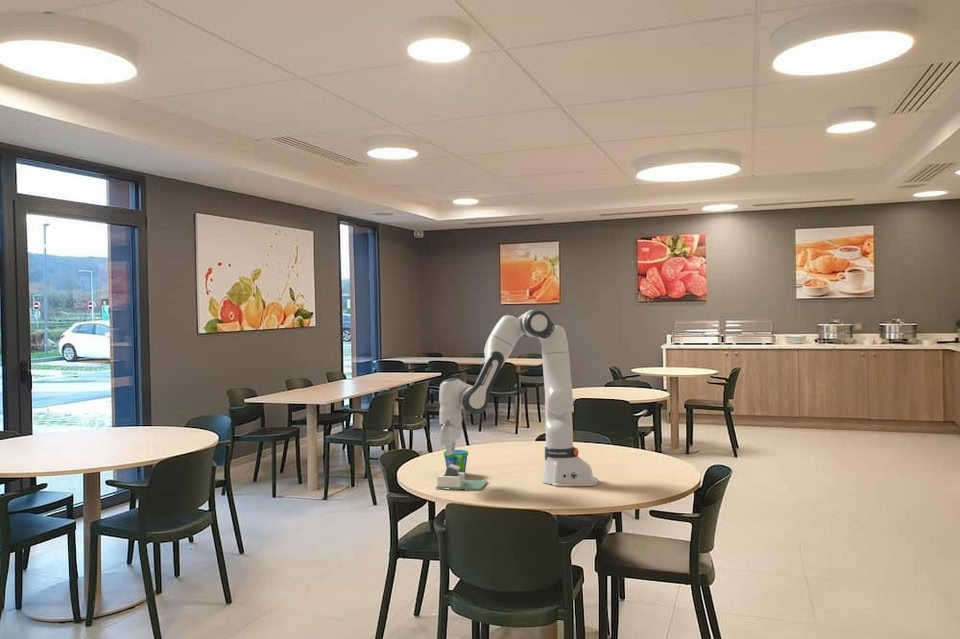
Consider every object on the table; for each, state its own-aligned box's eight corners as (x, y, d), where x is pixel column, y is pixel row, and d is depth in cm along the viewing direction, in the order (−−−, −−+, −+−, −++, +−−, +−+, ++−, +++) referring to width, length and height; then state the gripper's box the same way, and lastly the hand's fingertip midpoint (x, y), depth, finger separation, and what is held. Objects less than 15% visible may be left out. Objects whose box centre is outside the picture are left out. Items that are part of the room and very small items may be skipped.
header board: (487, 482, 278) (487, 470, 278) (480, 490, 264) (480, 478, 264) (444, 481, 282) (444, 469, 282) (435, 489, 268) (435, 476, 268)
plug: (455, 483, 274) (460, 466, 273) (453, 485, 270) (458, 468, 269) (444, 479, 274) (449, 463, 274) (442, 482, 271) (447, 465, 270)
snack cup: (441, 472, 300) (441, 448, 300) (465, 470, 302) (464, 447, 302) (446, 479, 284) (446, 455, 284) (471, 478, 286) (471, 454, 286)
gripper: (451, 422, 261) (452, 458, 261) (463, 415, 281) (464, 449, 281) (436, 422, 262) (436, 458, 262) (448, 415, 283) (449, 449, 282)
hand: (450, 453), depth 272 cm, fingers open, 4 cm apart
